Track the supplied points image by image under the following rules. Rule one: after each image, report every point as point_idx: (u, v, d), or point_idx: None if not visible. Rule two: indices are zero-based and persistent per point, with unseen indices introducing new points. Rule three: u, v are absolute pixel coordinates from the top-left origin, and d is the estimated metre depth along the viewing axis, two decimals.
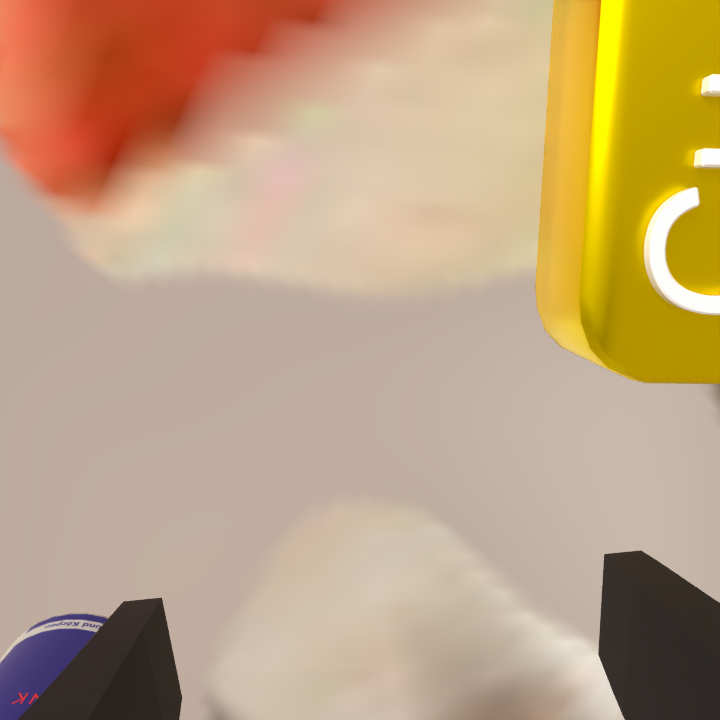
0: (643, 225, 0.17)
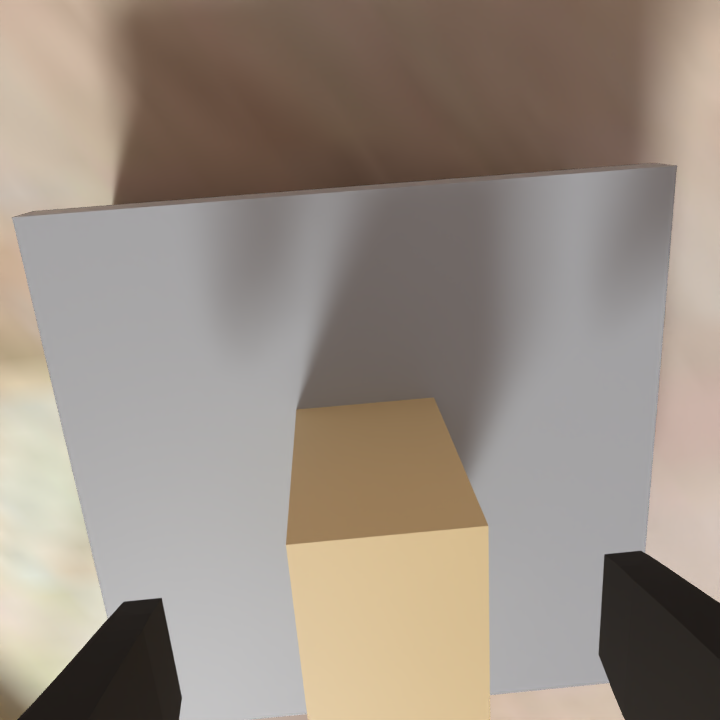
0: None
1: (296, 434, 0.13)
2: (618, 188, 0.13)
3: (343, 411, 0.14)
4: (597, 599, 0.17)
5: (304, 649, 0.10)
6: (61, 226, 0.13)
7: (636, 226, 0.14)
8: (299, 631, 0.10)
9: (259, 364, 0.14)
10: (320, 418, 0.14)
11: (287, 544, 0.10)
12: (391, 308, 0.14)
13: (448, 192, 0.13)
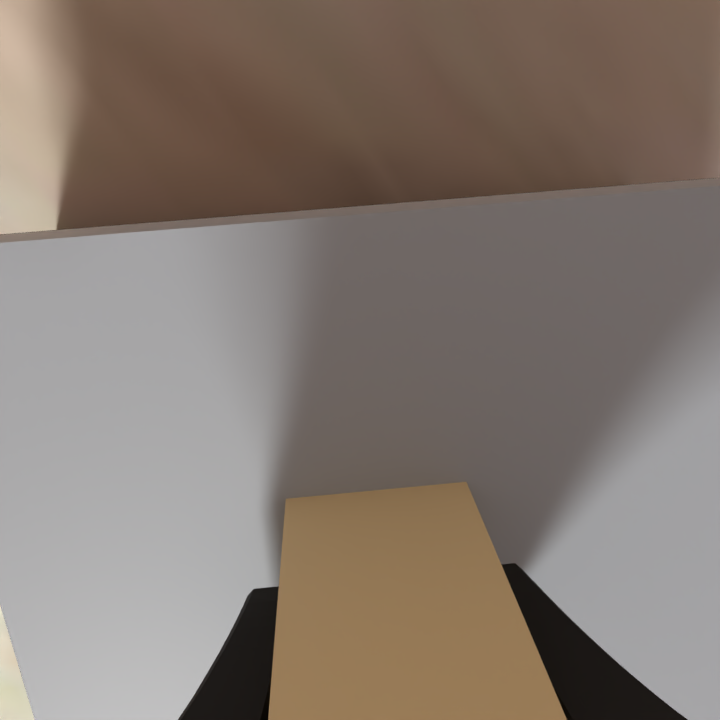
0: None
1: (285, 543, 0.10)
2: (719, 209, 0.10)
3: (348, 504, 0.11)
4: None
5: None
6: None
7: None
8: None
9: (236, 442, 0.11)
10: (317, 515, 0.11)
11: None
12: (412, 369, 0.10)
13: (490, 216, 0.10)
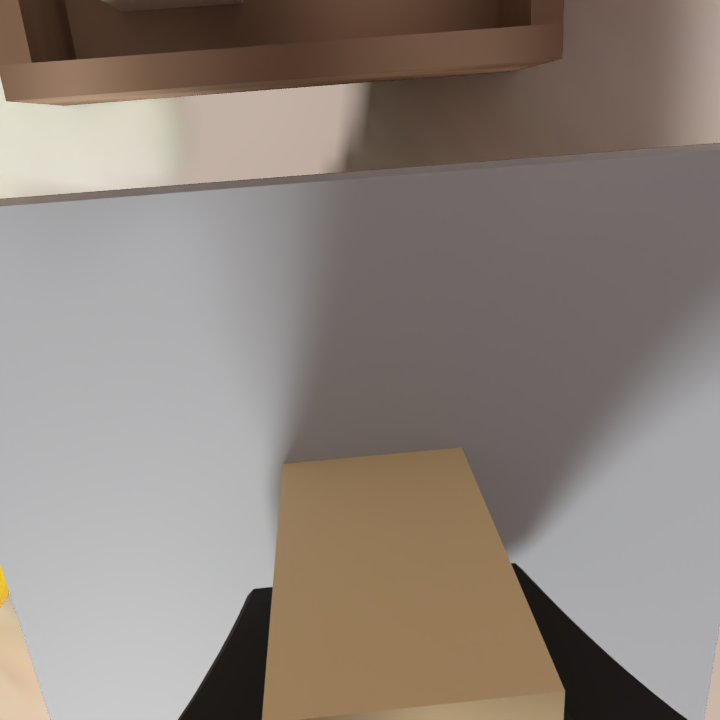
0: None
1: (282, 506, 0.10)
2: (716, 174, 0.10)
3: (344, 468, 0.11)
4: (656, 682, 0.14)
5: None
6: None
7: None
8: None
9: (233, 407, 0.11)
10: (314, 479, 0.11)
11: None
12: (408, 335, 0.11)
13: (487, 180, 0.10)
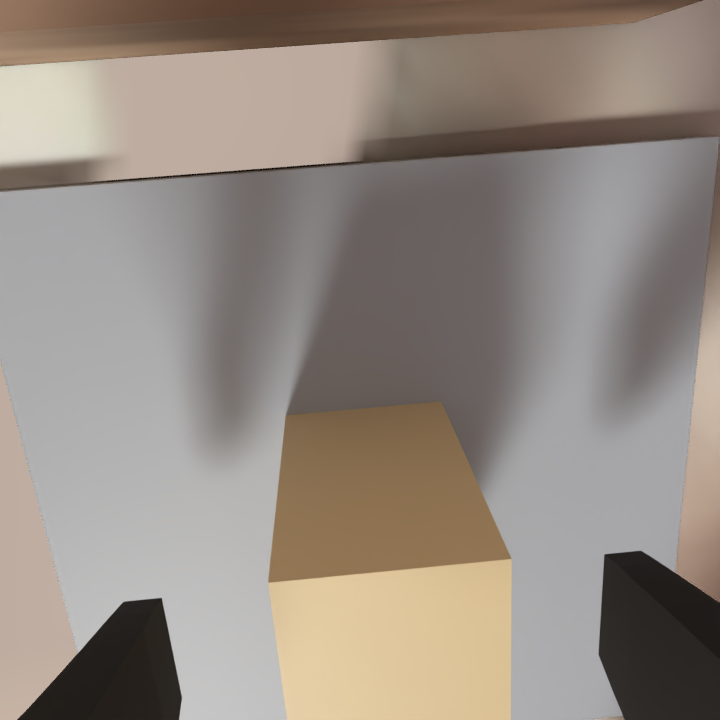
0: None
1: (284, 444, 0.12)
2: (652, 162, 0.12)
3: (338, 417, 0.13)
4: None
5: (291, 704, 0.09)
6: (13, 206, 0.11)
7: (672, 206, 0.12)
8: (285, 683, 0.09)
9: (243, 364, 0.13)
10: (312, 425, 0.12)
11: (269, 582, 0.08)
12: (393, 301, 0.12)
13: (458, 167, 0.12)
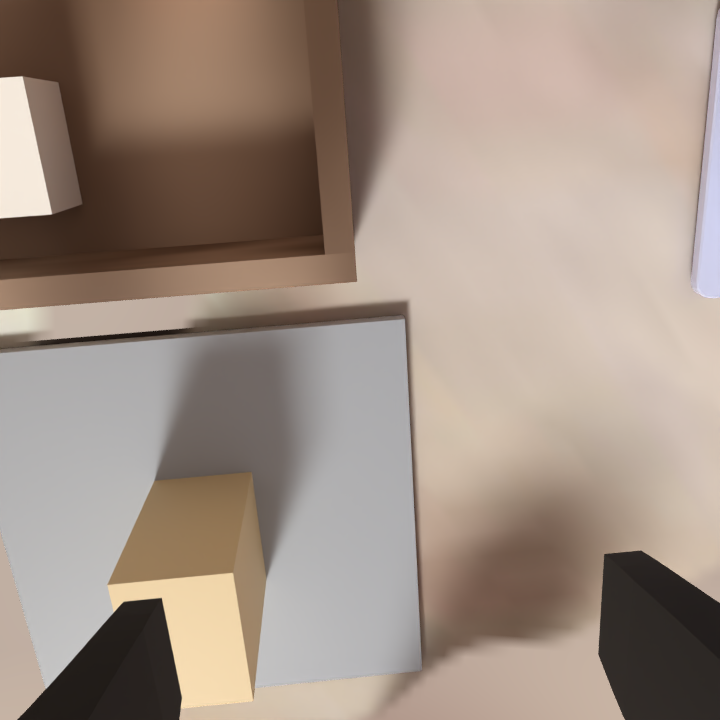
0: None
1: (146, 502, 0.20)
2: (366, 333, 0.20)
3: (184, 483, 0.21)
4: (386, 611, 0.23)
5: None
6: None
7: (381, 357, 0.20)
8: None
9: (126, 450, 0.20)
10: (167, 488, 0.20)
11: (108, 584, 0.16)
12: (215, 413, 0.20)
13: (248, 338, 0.20)
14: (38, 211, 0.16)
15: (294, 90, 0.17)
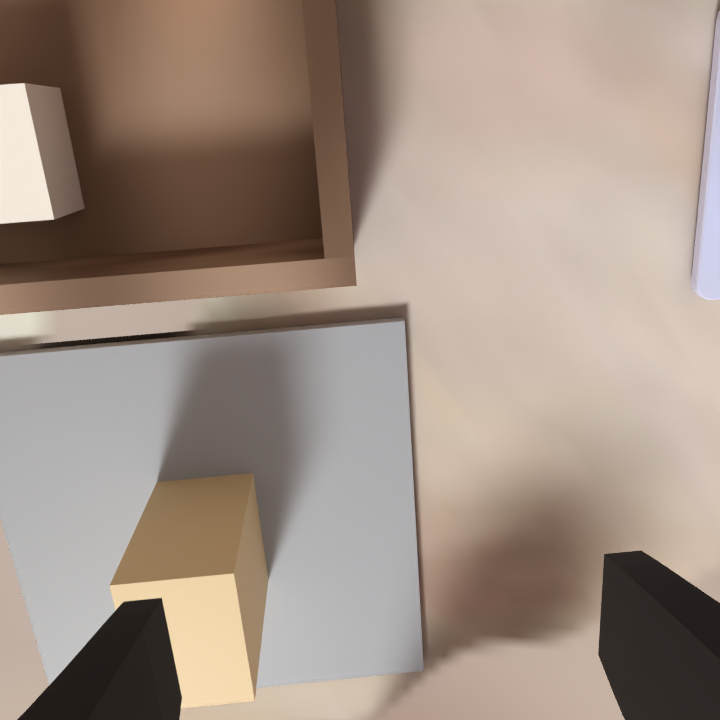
0: None
1: (148, 503, 0.20)
2: (366, 335, 0.20)
3: (187, 484, 0.21)
4: (387, 611, 0.23)
5: None
6: None
7: (381, 359, 0.20)
8: None
9: (128, 452, 0.21)
10: (169, 490, 0.20)
11: (110, 585, 0.16)
12: (217, 414, 0.20)
13: (249, 340, 0.20)
14: (40, 216, 0.16)
15: (294, 94, 0.17)
